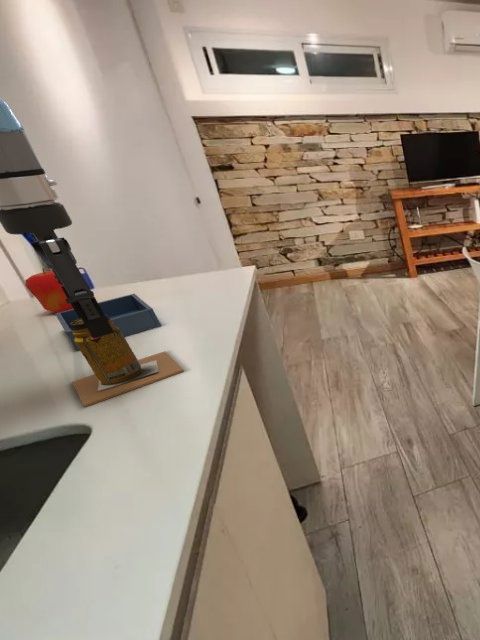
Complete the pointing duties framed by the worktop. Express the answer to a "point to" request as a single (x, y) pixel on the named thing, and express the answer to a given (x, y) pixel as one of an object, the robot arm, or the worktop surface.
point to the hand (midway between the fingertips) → (96, 326)
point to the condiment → (110, 356)
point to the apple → (48, 291)
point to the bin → (118, 316)
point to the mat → (89, 385)
